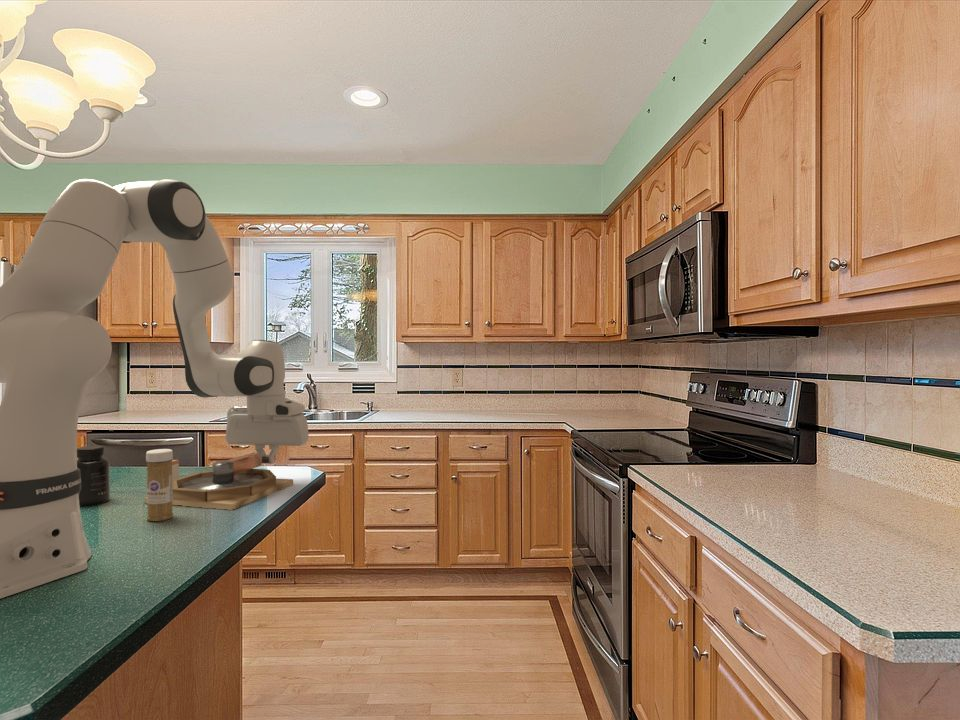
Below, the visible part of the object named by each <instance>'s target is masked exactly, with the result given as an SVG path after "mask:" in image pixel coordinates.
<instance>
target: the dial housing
mask: <svg viewBox="0 0 960 720" xmlns="http://www.w3.org/2000/svg"><path fill="white" fill-rule="evenodd" d="M241 473H251V474H257V475H260V476H262V477H263V480H260V481H257V482H255V483H252V484H249V485H245V486H237V487H229V488H221V489H213V490H200V489H186V488H181V485H182V484H183V483H185V482H187V481H189V480H192V479H195V478H200V477H204V476H210V475H213V470H206V471H199V472H194V473H191V474H187V475H184V476H179V478H177V479H173V480H172V487H173V500H172V506H174V505H182V506H181V507H186V506H191V507H190V508H199V507H202V508H203V509H212V508H216V509H215V510H224V509H227V510H228V511H234V510H236V509H238V508H240V507H243V506H245V505H247V504H250V503H252V502H255V501H257V500H260V499H262V498H265V497H266V496H268V495H272V494H273V493H275V492H278V491H280V490H283V489H285V488H288V487H291V486H292V485H294V479H292V478H277V476H276V475H275V474H274V473H273V471H272V470H270V469H265V468H262V469H261V468H253V469H250V470H247V471H244V472H241ZM143 501H144V504H147V496H146V497H143ZM202 508H201V509H202ZM233 509H234V510H233Z"/></svg>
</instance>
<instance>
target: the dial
mask: <svg viewBox="0 0 960 720" xmlns="http://www.w3.org/2000/svg"><path fill="white" fill-rule="evenodd" d="M262 465H263V463H260V456H259V455H258V453H257V452H251V453H248V454H244V455H240V456H237V457H234V458H230V459H226V460H220V461H215V462H213V463H212V466H211V467H212V471H213V475H210V476H204V477H200V478H195V479H192V480H189V481H187V482H185V483H183V484H182V485H181V488H186V489H200V490H213V489H221V488H229V487H237V486H245V485H249V484H252V483H255V482H257V481H260V480H263V477H262V476H260V475H257V474H251V473H241V472H244V471H247V470H250V469H257V468H258V467H262Z"/></svg>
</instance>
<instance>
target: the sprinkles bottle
mask: <svg viewBox="0 0 960 720" xmlns="http://www.w3.org/2000/svg"><path fill="white" fill-rule="evenodd" d="M172 460H174V451H173V449H170V448H157V449H151V450H147V451H146V453H145V461H146V472H147V473H146V483H147V484H146V497H147V503H146V506H147V509H146V510H147V512H146V513H147V516H146V520H147V521H149V522H161V521H162V520H163V521H167V520H169V519H171V518H172V517H174V513H173V512H174V511H173V505H172V500H173V487H172Z"/></svg>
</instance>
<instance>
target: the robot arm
mask: <svg viewBox="0 0 960 720" xmlns="http://www.w3.org/2000/svg"><path fill="white" fill-rule="evenodd" d="M130 243H158V244H159V245H160V246H161V247H163V249H164V251H165V254H166V259H167V262H168V264H169V265H168V266H169V268H170V270H171V274H172V276H173V279H174V284H175V285H174V286H175V294H174V295H173V298H172V310H173V316H174V321H175V326H176V330H177V333H178V338H179V343H180V346H181V352H182V356H183V360H184V370H185V371H184V375H185V382H186V384H187V387H188V389H189V390H190V392H192V393H193V394H194V395H195V396H196V397H197V396H198V397H200V398H205V399H206V398H216V397H232V398H233V397H246V405H244V406H239V405H235V406H232V407H230V408H229V409H228V411H227V412H226V417H227V419H226V420H227V422H226V428H225V429H226V430H225V441H226V442H227V444H229V445H244V446H245V445H247V446H255V447H254V450H255V452H256V453H258V455H259V456H260V463H262V464H274V463H275V461H276V459H275V457H276V456H275V455H276V454H277V453H278V451H279V448H280V446H286V447H287V446H289V447H300V446H304V445H305V444H307V442H308V441H309V427H308V420H307V416H305V415H304V414H303V413H305V410H306V409H305V408H306V407H305V405H304V404H303V403H301V402H297V401H294V400H292V399H289V398H287V397H286V391H285V386H284V384H285V383H284V382H285V379H286V367H285V366H286V364H285V363H286V362H285V357H284V356H285V355H284V350H283V347H282V345H281V344H280V343H279V342H276V341H273V340H265V339H254V340H250V341H249V342H248V346H247V347H245V348H244V349H242V350H241V351H239V352H237V353H236V354H218V353H216V352H215V351H214V350H213V349H212V346H211V341H210V336H209V333H208V327H207V323H206V317H207V314H208V312H209V310H210V309H211V310H212V308H214V307H216V306H218V305H219V304H221V303H222V302H223V301H224V300H226V299H227V298H228V297H229V295H230V294H231V292H232V289H233V286H234V275H233V269H232V267H231V265H230V262H229V259H228V255H227V253H226V252H227V251H226V250H225V248H224V245H223V242H222V240H221V238H220V236H219V234H218V232H217V231H216V228H215V227H214V225H213V223H212V221H211V220H210V217H208V216H207V215H206V209H205V205H204V203H203V201H202V198H201V197H200V196H199V194H198V193H197V191H196V190H195V189H194V188H193V187H192V186H191V185H190V184H188V183H186V182H184V181H182V180H181V181H180V180H177V179H176V180H175V179H159V180H145V181H143V180H142V181H140V180H137V181H135V180H134V181H131V182H126V183H121V184H118V185H109V184H107V183H105V182H103V181H99V180H96V179H92V178H91V179H89V178H83V179H82V178H81V179H78V180H74V181H72V182H70V184H69V185H67V186H66V188H65V189H63V191H62V192H61V193H60V194H59V196H57V198H56V199H55V201H54V202H53V203H52V204H51V206H50V208H49V209H48V211H47V212H46V214H45V216H44V217H43V218H42V221H41V223H40V224H39V227H38V228H37V231H36V233H35V234H34V236H33V238H32V240H31V242H30V243H29V245H28V247H27V250H26V252H25V253H24V255H23V257H22V259H21V260H20V262H19V263H18V264H17V267H16V268H15V269H14V271H12V273H11V274H10V276H8V278H6V280H5V281H4V282H3V283H2V285H1V286H0V384H1V383H2V384H3V383H5V384H6V385H5V390H4V392H3V397H2V399H1V403H0V599H5V597H10V596H11V595H15V594H18V593H22V592H24V591H28V590H30V589H34V588H36V587H38V586H41V585H44V584H47V583H50V582H53V581H55V580H59V579H62V578H65V577H68V576H70V575H74V574H77V573H79V572H83V571H85V570H86V569H87V568H88V560H89V559H90V558H91V557H92V554H93V553H92V551H91V548H90V546H89V543H88V539H87V537H86V533H85V530H84V525H83V519H82V513H81V508H80V507H81V506H80V505H79V494H80V491H81V473H80V469H79V468H77V460H78V458H77V449H78V423H79V416H80V412H81V407H82V405H83V401H84V398H85V396H86V394H87V391H88V389H89V387H90V385H91V384H92V382H93V380H94V379H95V378H96V377H97V376H98V375H99V374H101V373H102V372H103V371H104V369H105V368H106V367H107V366H108V364H109V363H110V360H111V357H112V356H111V355H112V350H113V349H112V348H113V347H112V340H111V336H110V334H109V332H108V331H107V330H106V327H104V326H103V325H102V324H101V323H100V322H99V321H97V320H96V319H94V318H91V317H89V316H85V315H83V314H82V315H81V314H78V313H79V312H80V311H81V310H83V309H84V308H85V307H87V306H89V304H91V303H93V302H94V301H96V299H98V298H99V296H100V295H101V293H102V292H103V290H104V288H105V286H106V283H107V281H108V279H109V276H110V274H111V271H112V269H113V267H114V264H115V262H116V261H117V260H116V259H117V258H118V256H119V253H120V250H121V247H122V244H130ZM266 446H268V450H270V452H269V454H267V453H266V452H265V448H266Z"/></svg>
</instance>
